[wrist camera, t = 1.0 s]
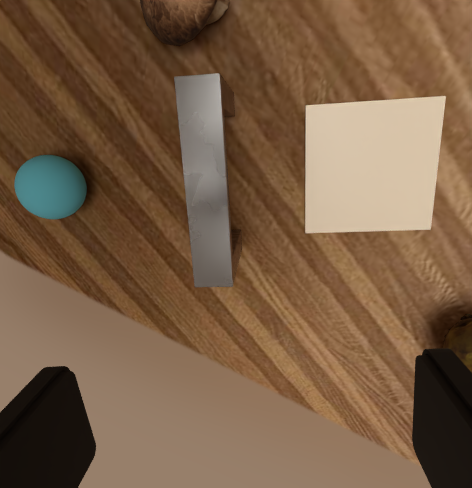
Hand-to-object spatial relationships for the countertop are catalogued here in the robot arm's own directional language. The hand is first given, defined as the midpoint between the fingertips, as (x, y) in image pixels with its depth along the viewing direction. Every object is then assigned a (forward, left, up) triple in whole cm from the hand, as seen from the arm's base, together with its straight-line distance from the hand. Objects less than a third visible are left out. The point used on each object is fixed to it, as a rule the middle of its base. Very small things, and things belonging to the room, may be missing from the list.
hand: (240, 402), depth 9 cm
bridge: (-4, -4, -26) cm, 27 cm away
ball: (-4, -20, -23) cm, 31 cm away
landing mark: (-4, +10, -26) cm, 28 cm away
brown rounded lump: (-19, -6, -27) cm, 33 cm away
